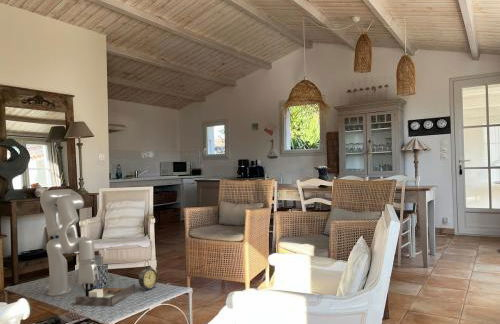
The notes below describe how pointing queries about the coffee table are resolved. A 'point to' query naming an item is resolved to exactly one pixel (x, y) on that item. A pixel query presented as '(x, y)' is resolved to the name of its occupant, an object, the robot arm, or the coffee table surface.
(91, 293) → the block
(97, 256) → the perfume bottle
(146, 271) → the alarm clock
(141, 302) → the coffee table surface
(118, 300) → the box
